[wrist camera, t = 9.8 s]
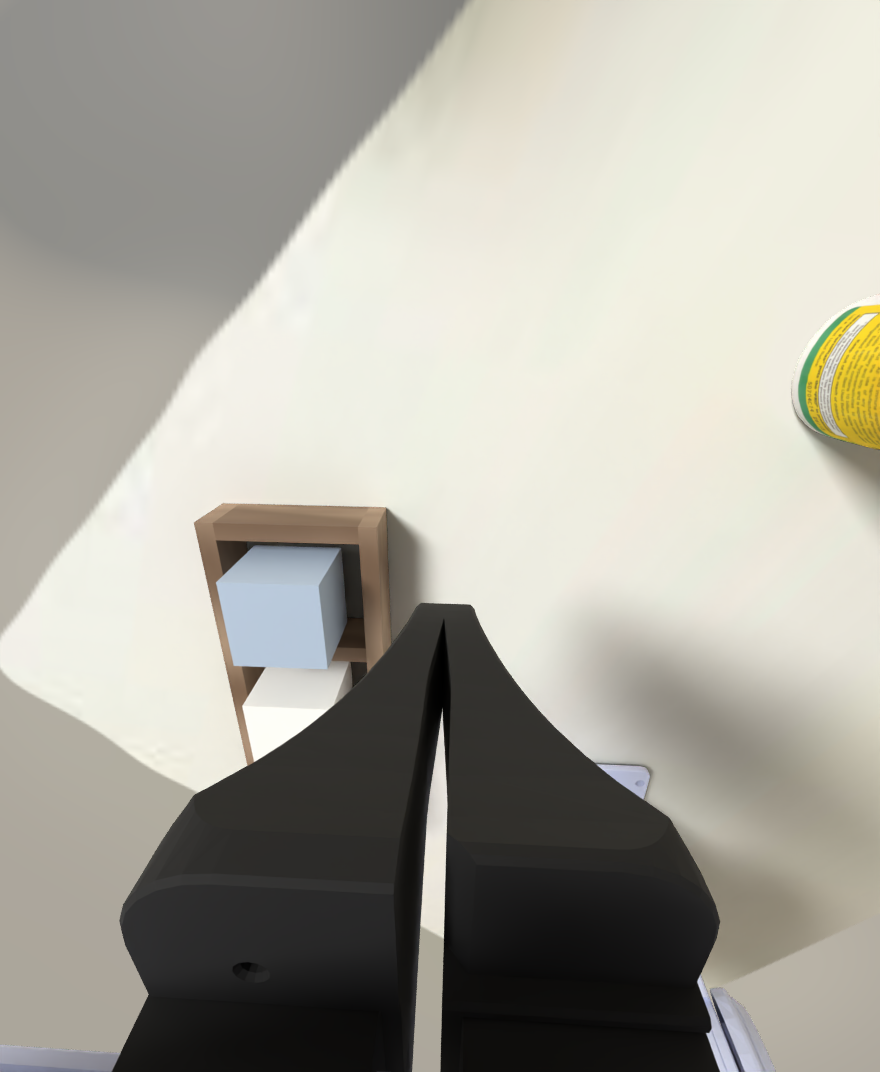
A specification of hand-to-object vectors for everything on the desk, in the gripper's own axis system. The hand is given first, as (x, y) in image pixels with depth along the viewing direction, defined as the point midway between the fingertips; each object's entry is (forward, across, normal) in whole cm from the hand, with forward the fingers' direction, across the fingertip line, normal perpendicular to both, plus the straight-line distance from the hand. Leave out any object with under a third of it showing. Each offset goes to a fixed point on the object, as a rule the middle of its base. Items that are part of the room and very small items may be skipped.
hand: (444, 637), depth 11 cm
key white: (+9, +7, +10) cm, 15 cm away
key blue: (+9, +7, +4) cm, 12 cm away
